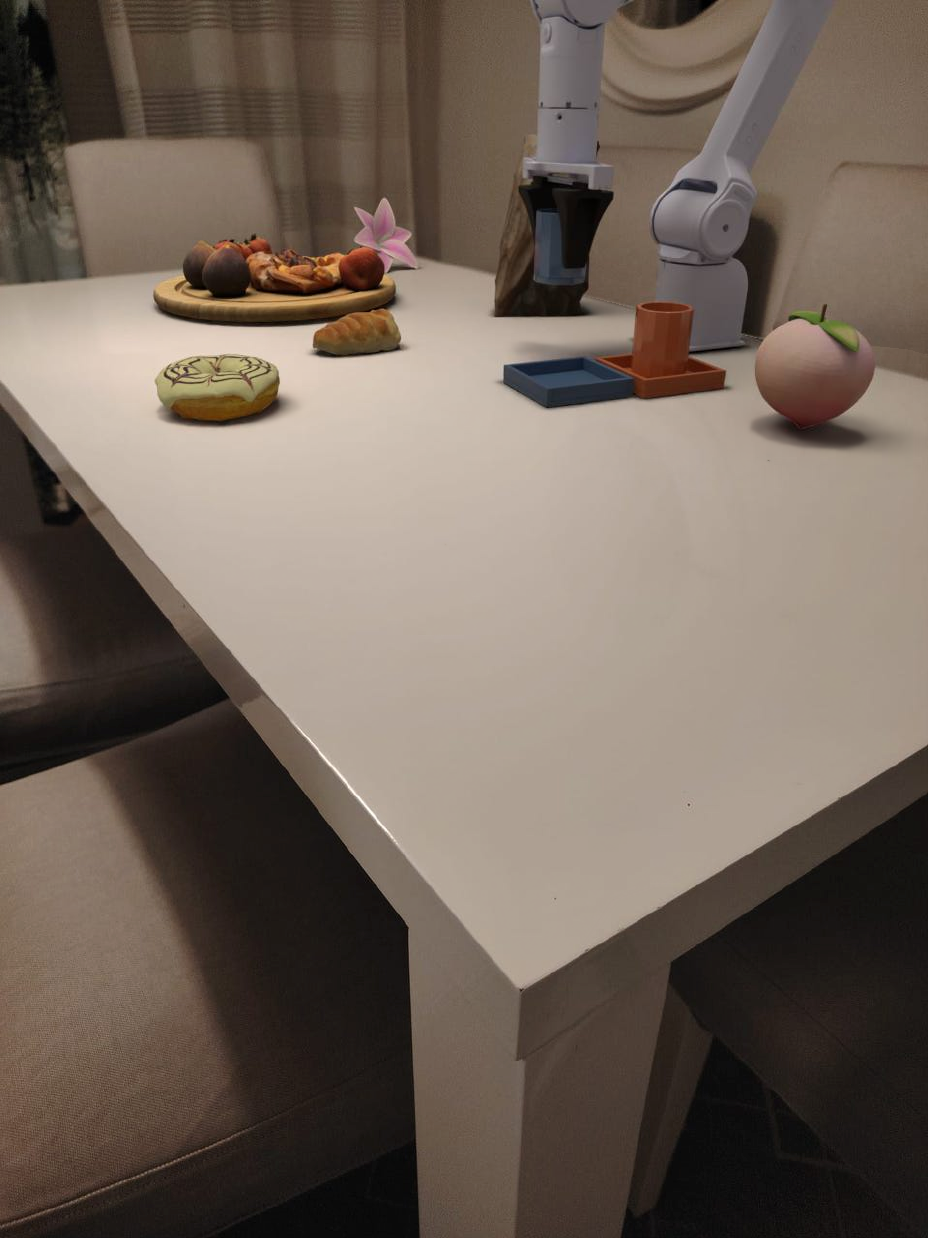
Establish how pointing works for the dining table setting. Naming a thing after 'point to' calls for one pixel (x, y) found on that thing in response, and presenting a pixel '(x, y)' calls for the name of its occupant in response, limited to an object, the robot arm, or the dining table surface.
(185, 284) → the wooden plate
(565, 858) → the dining table surface
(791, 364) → the decorative fruit
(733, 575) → the dining table surface
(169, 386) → the decorated donut
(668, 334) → the terracotta cup
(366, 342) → the pastry
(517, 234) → the brown rock
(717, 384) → the terracotta dish
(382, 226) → the lily
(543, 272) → the blue cup
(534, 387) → the blue dish
